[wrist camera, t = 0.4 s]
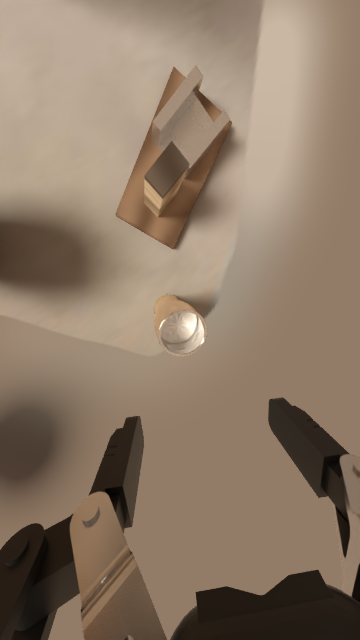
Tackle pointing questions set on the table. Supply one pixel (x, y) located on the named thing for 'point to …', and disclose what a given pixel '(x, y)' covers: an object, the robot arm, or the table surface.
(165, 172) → the grey-topped wooden block
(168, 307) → the beer glass
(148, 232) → the board
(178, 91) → the clip
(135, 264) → the table surface
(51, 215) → the table surface
